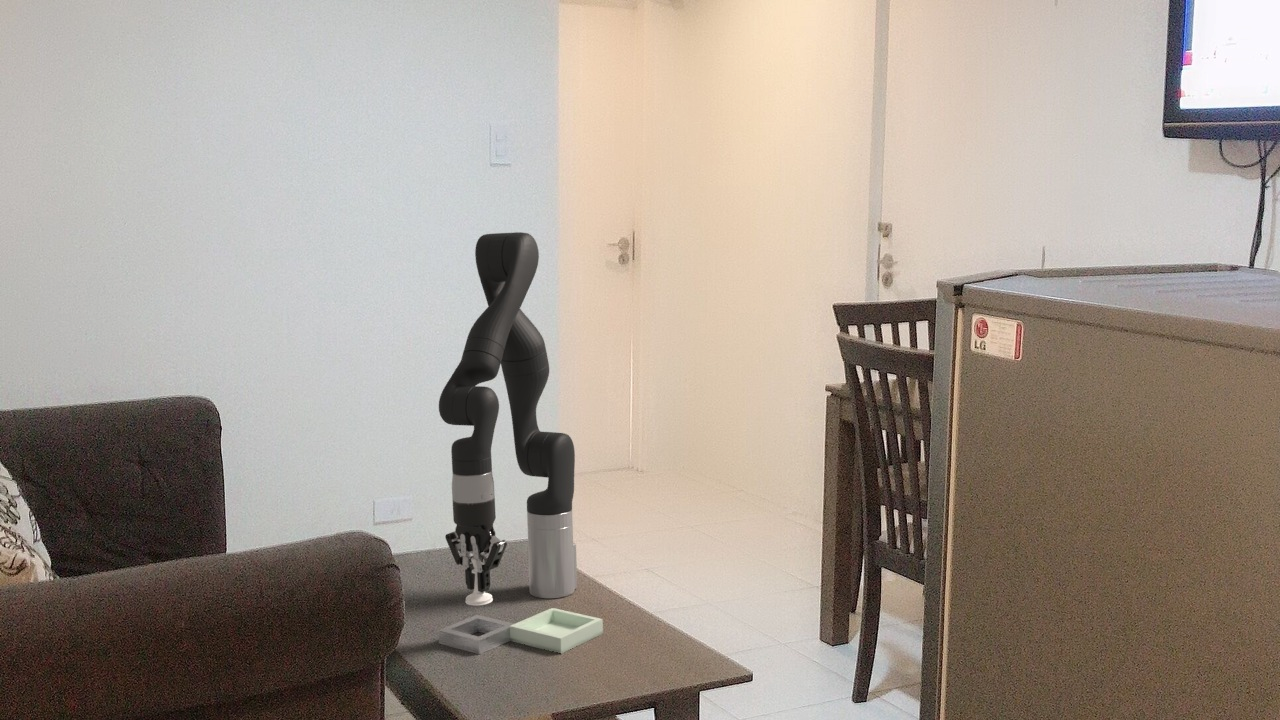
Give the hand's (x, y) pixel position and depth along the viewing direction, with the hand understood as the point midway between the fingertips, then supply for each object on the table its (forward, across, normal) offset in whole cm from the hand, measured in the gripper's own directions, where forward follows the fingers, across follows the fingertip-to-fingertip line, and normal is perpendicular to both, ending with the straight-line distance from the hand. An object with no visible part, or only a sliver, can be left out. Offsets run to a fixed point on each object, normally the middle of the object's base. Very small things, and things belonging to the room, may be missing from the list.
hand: (478, 589), depth 209 cm
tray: (+10, -11, -8) cm, 17 cm away
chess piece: (+2, 0, 0) cm, 2 cm away
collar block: (+9, 0, +1) cm, 9 cm away
